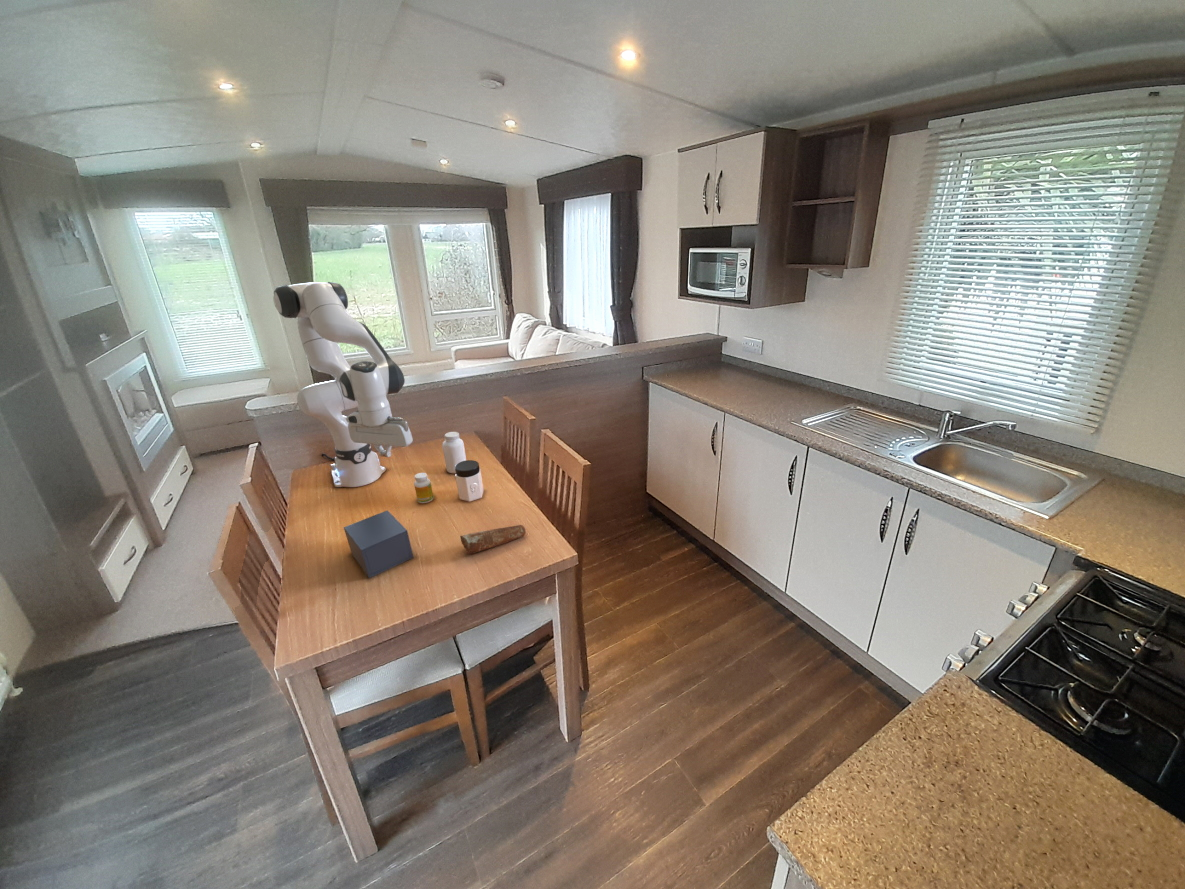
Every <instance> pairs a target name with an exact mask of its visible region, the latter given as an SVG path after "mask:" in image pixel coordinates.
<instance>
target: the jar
mask: <svg viewBox="0 0 1185 889" xmlns="http://www.w3.org/2000/svg"><path fill="white" fill-rule="evenodd" d="M481 470H482V469H481V468H480V463H479V462H478V461H476V460H473V459H466V461H462V462H460V463H458V464H456V466H455V472H456V473H455V475H454V476H455V482H456V489H457V494H458V499H459V500H461V501H465V502H469V503H470V502H472V501H476V500H480V499H482V498H483V495H484V484H483V478H482V477H483V476H482V471H481Z"/></svg>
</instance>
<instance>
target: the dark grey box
mask: <svg viewBox="0 0 1185 889" xmlns="http://www.w3.org/2000/svg"><path fill="white" fill-rule="evenodd" d="M343 530H344V533H345V537H346V540H347V543H348V547H349V550H350V554H351V555H352V557H353V559H354V560H355V561H356V562H357V564H358V565H359V567H360V568H361V569H362V570H363V572H364V573H365V575H366V576H367V577H368V578H369V579H371V578H373V577H376V576H378V575H380V574H382V573H385V572H386V571H388V570H390V569H393V568H395V567H397V566H399V565H401V564H403V563H406V562H408V561H410V560H412V559H414V553H413V549H412V545H411V541H410V536H409V533H408V532H409V531H408V530H407V528H406V527H405V526H403V524H402V523H401V522H400V521H399V520H398V519H397V518H396V517H395V516H394V515H393V514H392V513H391V512H390V511H389V510H388V509H386V510H384V511H382V512H379V513H377V514H373V515H371V516H369V517H366V518H364V519H361V520H358V521H356V522H354V523H350V524H348V525H346V526H344V527H343Z"/></svg>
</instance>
